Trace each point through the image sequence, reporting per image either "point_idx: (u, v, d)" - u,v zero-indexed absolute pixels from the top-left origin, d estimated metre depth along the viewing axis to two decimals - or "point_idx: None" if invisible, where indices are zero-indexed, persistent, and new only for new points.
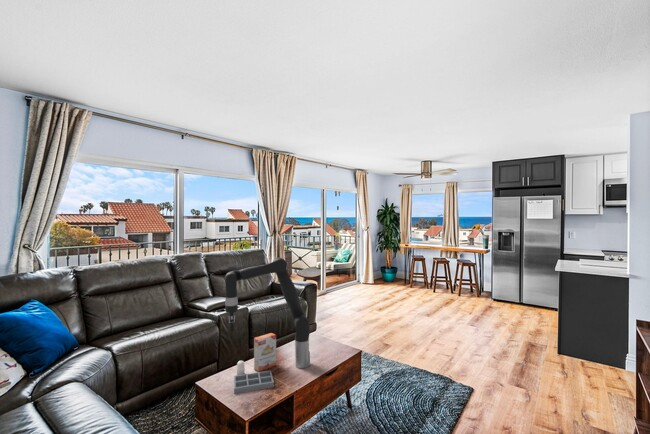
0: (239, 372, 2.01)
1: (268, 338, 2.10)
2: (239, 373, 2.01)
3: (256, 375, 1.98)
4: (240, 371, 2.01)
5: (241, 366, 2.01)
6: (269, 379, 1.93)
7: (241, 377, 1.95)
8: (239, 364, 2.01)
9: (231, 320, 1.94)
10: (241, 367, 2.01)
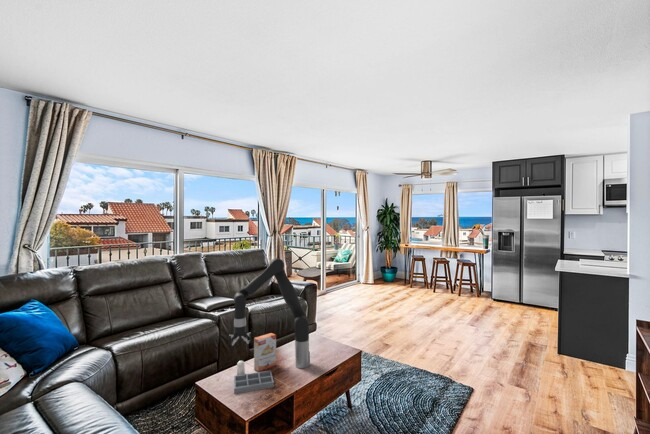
0: (239, 372, 2.01)
1: (268, 338, 2.10)
2: (239, 373, 2.01)
3: (256, 375, 1.98)
4: (240, 371, 2.01)
5: (241, 366, 2.01)
6: (269, 379, 1.93)
7: (241, 377, 1.95)
8: (239, 364, 2.01)
9: None
10: (241, 367, 2.01)
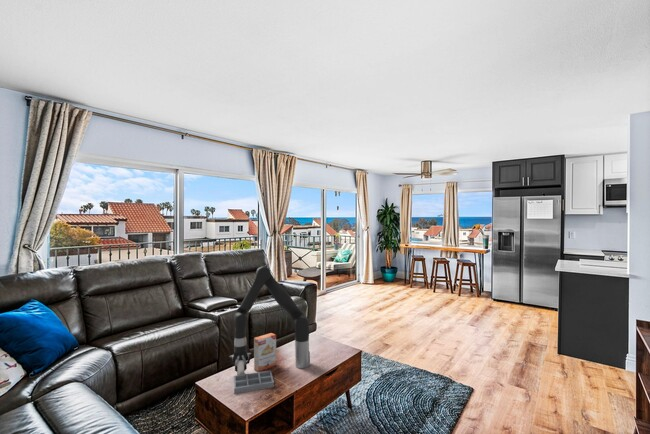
0: (239, 372, 2.01)
1: (268, 338, 2.10)
2: (239, 373, 2.01)
3: (256, 375, 1.98)
4: (240, 371, 2.01)
5: (241, 366, 2.01)
6: (269, 379, 1.93)
7: (241, 377, 1.95)
8: (239, 364, 2.01)
9: None
10: (241, 367, 2.01)
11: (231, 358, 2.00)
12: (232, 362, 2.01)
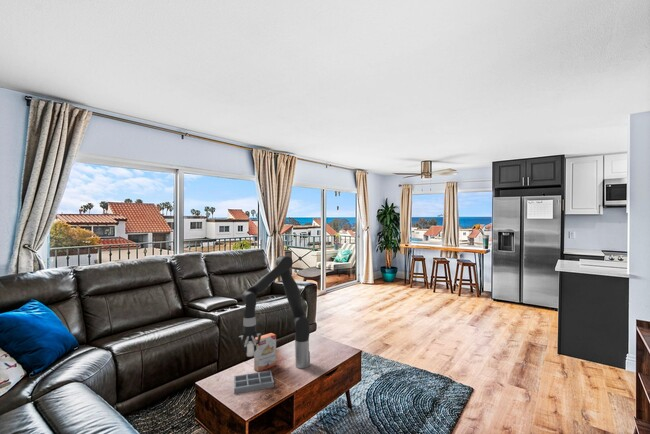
0: (249, 353, 1.94)
1: (268, 338, 2.10)
2: (249, 354, 1.94)
3: (256, 375, 1.98)
4: (250, 352, 1.94)
5: (251, 347, 1.94)
6: (269, 379, 1.93)
7: (241, 377, 1.95)
8: (249, 345, 1.95)
9: None
10: (251, 348, 1.94)
11: (240, 338, 1.94)
12: (241, 342, 1.94)
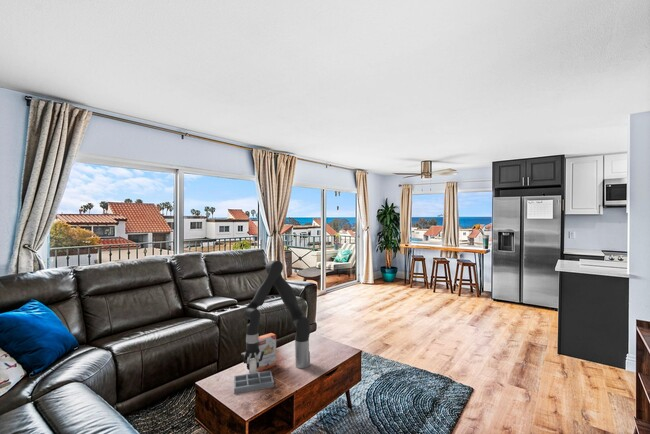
0: (251, 370, 1.92)
1: (268, 338, 2.10)
2: (251, 371, 1.92)
3: (256, 375, 1.98)
4: (252, 370, 1.92)
5: (253, 364, 1.92)
6: (269, 379, 1.93)
7: (241, 377, 1.95)
8: (251, 362, 1.92)
9: None
10: (253, 365, 1.92)
11: (243, 355, 1.92)
12: (244, 360, 1.92)
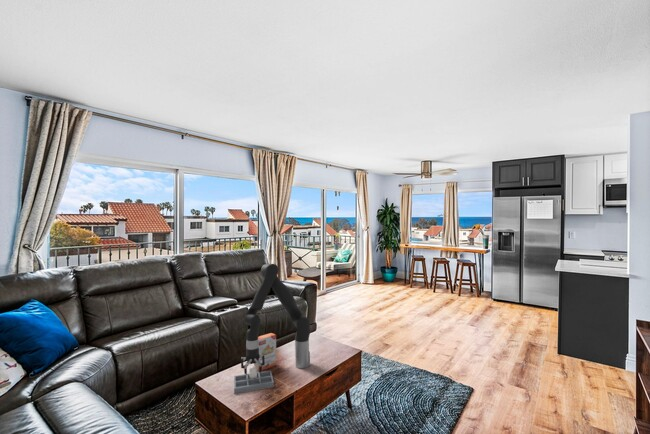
0: (251, 378, 1.92)
1: (268, 338, 2.10)
2: None
3: None
4: (253, 377, 1.92)
5: (254, 372, 1.92)
6: (269, 379, 1.93)
7: (241, 377, 1.95)
8: (251, 369, 1.92)
9: None
10: (254, 373, 1.92)
11: (243, 360, 1.91)
12: (242, 364, 1.91)
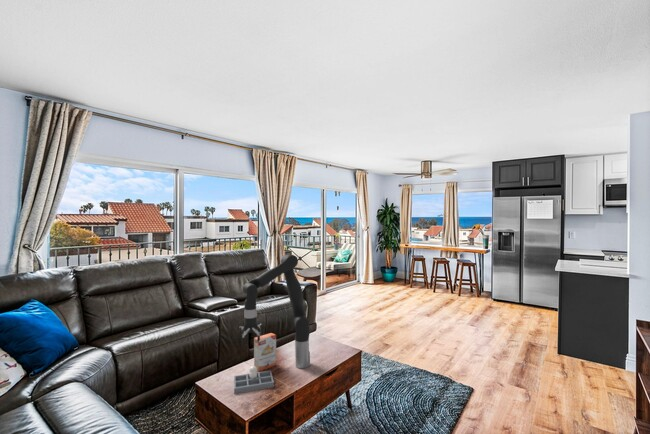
0: (251, 378, 1.92)
1: (268, 338, 2.10)
2: None
3: None
4: (253, 377, 1.92)
5: (254, 372, 1.92)
6: (269, 379, 1.93)
7: (241, 377, 1.95)
8: (251, 369, 1.92)
9: None
10: (254, 373, 1.92)
11: (241, 329, 1.93)
12: (240, 333, 1.93)
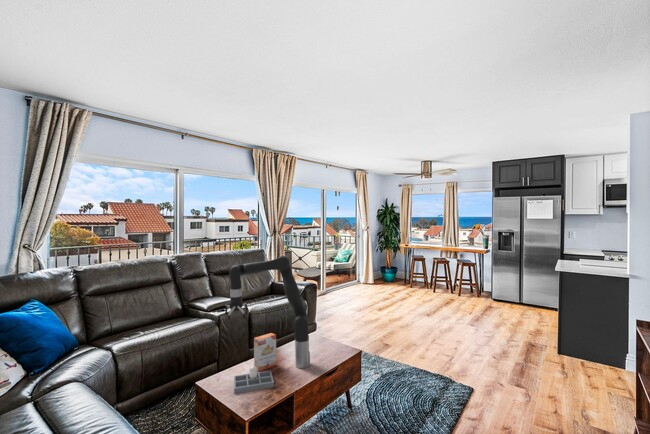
0: (251, 378, 1.92)
1: (268, 338, 2.10)
2: None
3: None
4: (253, 377, 1.92)
5: (254, 372, 1.92)
6: (269, 379, 1.93)
7: (241, 377, 1.95)
8: (251, 369, 1.92)
9: None
10: (254, 373, 1.92)
11: (227, 307, 2.09)
12: (226, 311, 2.09)
